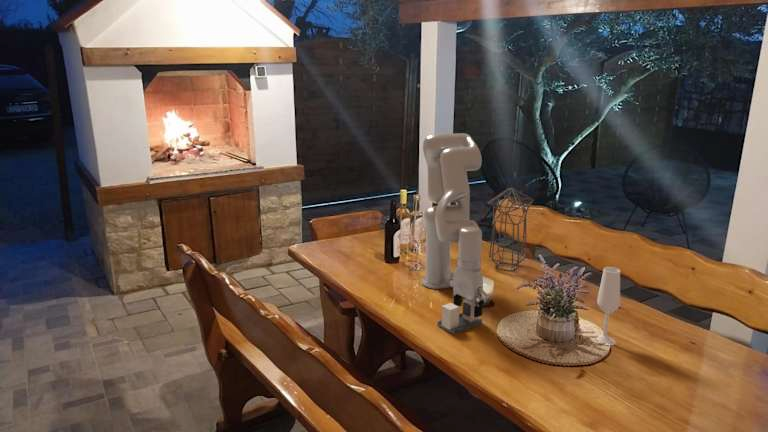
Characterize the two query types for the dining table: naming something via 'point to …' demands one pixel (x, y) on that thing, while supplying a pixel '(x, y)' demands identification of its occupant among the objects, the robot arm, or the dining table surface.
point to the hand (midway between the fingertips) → (467, 311)
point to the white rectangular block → (469, 310)
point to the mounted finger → (450, 316)
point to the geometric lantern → (509, 223)
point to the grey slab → (461, 325)
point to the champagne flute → (609, 298)
